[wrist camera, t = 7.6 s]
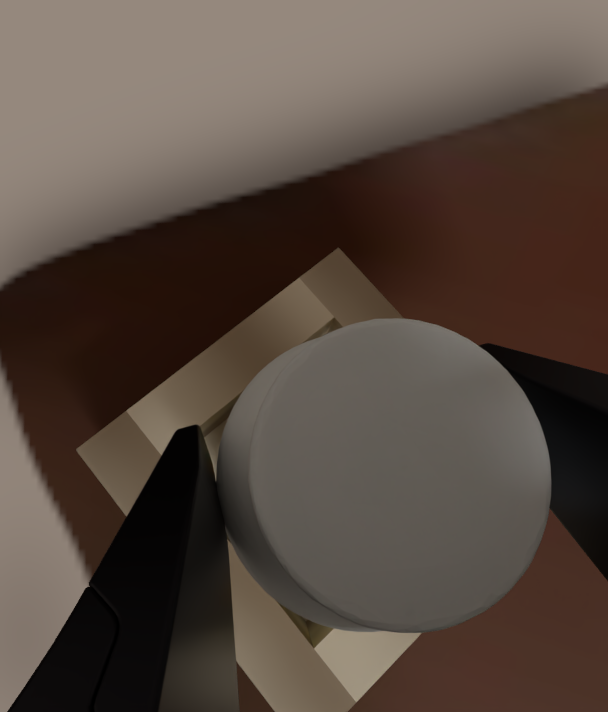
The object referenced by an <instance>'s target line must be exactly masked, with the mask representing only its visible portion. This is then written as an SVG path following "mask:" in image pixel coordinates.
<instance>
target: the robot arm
mask: <svg viewBox="0 0 608 712" xmlns="http://www.w3.org/2000/svg"><path fill="white" fill-rule="evenodd" d="M479 347H481V348H482V349H484V350H485V351H487V352H488V353H489V354H490V355H491V356H492V357H494V358H495V359H496V360H497V361H498V362H499V363H500V364H501V365H502V366H503V367H504V368H505V369H506V370H507V371H508V372H509V374H510V375H511V376H512V377H513V379H514V380H515V381H516V382H517V383H518V385H519V386H520V387H521V389H522V390H523V392H524V393H525V395H526V397H527V398H528V400H529V402H530V404H531V405H532V407H533V409H534V412H535V414H536V416H537V418H538V420H539V422H540V425H541V428H542V431H543V434H544V437H545V441H546V444H547V448H548V453H549V458H550V467H551V500H550V507H549V508H550V509H551V510H552V512H553V513H554V514H555V515H556V517H557V518H558V519H559V520H560V522H561V523H562V524H563V525H564V527H565V528H566V529H567V530H568V532H569V533H570V534H571V535H572V537H573V538H574V539H575V540H576V542H577V543H578V544H579V545H580V547H581V548H582V549H583V550H584V552H585V553H586V554H587V556H588V557H589V558H590V559H591V561H592V562H593V563H594V564H595V566H596V567H597V568H598V569H599V571H600V572H601V573H602V574H603V576H604V577H605V578H606V579H607V581H608V375H607V374H604V373H600V372H596V371H592V370H589V369H585V368H581V367H577V366H573V365H570V364H566V363H562V362H558V361H554V360H551V359H547V358H543V357H539V356H536V355H532V354H528V353H524V352H520V351H517V350H513V349H509V348H505V347H502V346H498V345H494V344H490V343H486V344H482V345H479ZM89 586H90V587H87V588H86V589H85V590H84V592H83V594H82V595H81V597H80V599H79V601H78V603H77V604H76V606H75V608H74V610H73V611H72V613H71V615H70V616H69V618H68V620H67V621H66V623H65V625H64V626H63V628H62V630H61V631H60V633H59V635H58V636H57V638H56V639H55V641H54V643H53V644H52V646H51V648H50V649H49V651H48V652H47V654H46V655H45V657H44V658H43V660H42V661H41V663H40V664H39V666H38V667H37V669H36V670H35V672H34V673H33V675H32V676H31V678H30V679H29V681H28V682H27V684H26V685H25V687H24V688H23V690H22V691H21V693H20V694H19V696H18V697H17V698H16V700H15V702H14V703H13V704H12V706H11V707H10V709H9V710H8V711H7V712H239V697H238V682H237V667H236V653H235V638H234V623H233V608H232V593H231V578H230V563H229V550H228V541H227V535H226V529H225V523H224V519H223V515H222V511H221V507H220V502H219V497H218V492H217V485H216V478H215V473H214V468H213V464H212V460H211V457H210V454H209V451H208V448H207V445H206V442H205V439H204V436H203V433H202V430H201V428H200V426H199V425H197V424H195V425H191V426H187V427H184V428H180V429H177V430H176V431H175V433H174V434H173V436H172V438H171V440H170V441H169V443H168V445H167V447H166V448H165V450H164V452H163V454H162V455H161V457H160V459H159V461H158V462H157V464H156V466H155V468H154V469H153V471H152V473H151V475H150V476H149V478H148V480H147V482H146V483H145V485H144V487H143V489H142V491H141V492H140V494H139V496H138V498H137V499H136V501H135V503H134V505H133V506H132V508H131V510H130V512H129V513H128V515H127V517H126V519H125V520H124V522H123V524H122V526H121V527H120V529H119V531H118V533H117V534H116V536H115V538H114V540H113V541H112V543H111V545H110V547H109V548H108V550H107V552H106V554H105V555H104V557H103V559H102V561H101V563H100V564H99V566H98V568H97V570H96V571H95V573H94V575H93V577H92V578H91V580H90V582H89Z"/></svg>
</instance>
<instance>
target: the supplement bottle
mask: <svg viewBox="0 0 608 712" xmlns="http://www.w3.org/2000/svg"><path fill="white" fill-rule="evenodd" d="M216 485H217V492H218V497H219V502H220V507H221V511H222V515H223V519H224V523H225V529H226V533H227V535H228V537H229V540H230V542H231V544H232V546H233V548H234V550H235V552H236V554H237V556H238V558H239V559H240V561H241V562H242V564H243V565H244V567H245V568H246V570H247V571H248V572H249V574H250V575H251V576H252V577H253V579H254V580H255V581H256V582H257V583H258V584H259V585H260V586H261V587H262V588H263V590H264V591H265V592H266V593H268V594H269V595H270V596H271V597H272V598H274V599H275V600H276V601H277V602H279V603H280V604H281V605H283V606H284V607H286V608H287V609H289V610H291V611H292V612H294V613H296V614H297V615H300V616H302V617H304V618H306V619H308V620H310V621H312V622H315V623H317V624H320V625H323V626H326V627H330V628H334V629H339V630H344V631H353V632H378V631H388V632H397V633H423V632H431V631H437V630H442V629H446V628H449V627H452V626H455V625H458V624H461V623H463V622H465V621H467V620H468V619H470V618H472V617H474V616H476V615H479V614H481V613H483V612H484V611H486V610H487V609H489V608H490V607H492V606H493V605H494V604H496V603H497V602H498V601H499V600H500V599H501V598H503V597H504V596H505V595H506V594H507V593H508V592H509V591H510V590H511V589H512V587H513V586H514V585H515V584H516V583H517V581H518V580H519V579H520V578H521V577H522V575H523V574H524V573H525V571H526V570H527V568H528V567H529V565H530V564H531V562H532V560H533V557H534V555H535V553H536V551H537V549H538V547H539V544H540V542H541V539H542V536H543V533H544V530H545V526H546V523H547V519H548V515H549V507H550V500H551V467H550V458H549V453H548V448H547V444H546V441H545V437H544V434H543V431H542V428H541V425H540V422H539V420H538V418H537V416H536V414H535V412H534V409H533V407H532V405H531V404H530V402H529V400H528V398H527V397H526V395H525V393H524V392H523V390H522V389H521V387H520V386H519V385H518V383H517V382H516V381H515V380H514V379H513V377H512V376H511V375H510V374H509V372H508V371H507V370H506V369H505V368H504V367H503V366H502V365H501V364H500V363H499V362H498V361H497V360H496V359H495V358H494V357H492V356H491V355H490V354H489V353H488V352H487V351H485V350H484V349H482V348H481V347H479V346H478V345H476V344H475V343H473V342H472V341H470V340H469V339H467V338H465V337H463V336H461V335H459V334H457V333H456V332H453V331H451V330H448V329H446V328H443V327H441V326H438V325H435V324H430V323H426V322H422V321H418V320H411V319H401V318H393V319H373V320H368V321H364V322H359V323H354V324H351V325H347V326H345V327H342V328H340V329H337V330H335V331H332V332H330V333H328V334H325V335H324V336H322V337H319V338H315V339H313V340H310V341H307V342H304V343H302V344H300V345H298V346H295V347H293V348H291V349H290V350H288V351H286V352H284V353H283V354H281V355H280V356H278V357H277V358H275V359H274V360H273V361H271V362H270V363H269V364H268V365H267V366H265V367H264V368H263V369H262V370H261V371H260V372H259V373H258V374H257V375H256V376H255V377H254V378H253V380H252V381H251V382H250V383H249V384H248V385H247V387H246V388H245V389H244V391H243V392H242V393H241V395H240V397H239V398H238V400H237V402H236V403H235V405H234V407H233V409H232V411H231V413H230V415H229V418H228V420H227V423H226V425H225V428H224V431H223V434H222V438H221V441H220V446H219V451H218V458H217V469H216Z"/></svg>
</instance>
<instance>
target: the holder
mask: <svg viewBox="0 0 608 712" xmlns="http://www.w3.org/2000/svg"><path fill="white" fill-rule="evenodd" d="M393 318H401V319H404V318H403V317H402V316H401V315H400V314H399V313H398V312H397V310H396V309H395V308H394V307H393V306H392V305H391V304H390V303H389V302H388V301H387V300H386V298H385V297H384V296H383V295H382V294H381V293H380V292H379V291H378V290H377V289H376V288H375V286H374V285H373V284H372V283H371V282H370V281H369V280H368V279H367V278H366V277H365V276H364V275H363V273H362V272H361V271H360V270H359V269H358V268H357V267H356V266H355V265H354V264H353V263H352V261H351V260H350V259H349V258H348V257H347V256H346V255H345V254H344V253H343V252H342V251H341V249H340V248H339V247H338V248H337V249H336V250H335V251H333V252H332V253H331V254H329V255H328V256H327V257H325V258H324V259H323V260H322V261H320V262H319V263H318V264H316V265H315V266H314V267H312V268H311V269H310V270H309V271H307V272H306V273H305V274H303V275H302V276H301V277H299V278H298V279H297V280H296V281H294V282H293V283H292V284H290V285H289V286H288V287H286V288H285V289H284V290H283V291H281V292H280V293H279V294H277V295H276V296H275V297H273V298H272V299H271V300H270V301H268V302H267V303H266V304H264V305H263V306H262V307H260V308H259V309H258V310H257V311H255V312H254V313H253V314H251V315H250V316H249V317H247V318H246V319H245V320H244V321H242V322H241V323H240V324H238V325H237V326H236V327H234V328H233V329H232V330H231V331H229V332H228V333H227V334H225V335H224V336H223V337H221V338H220V339H219V340H218V341H216V342H215V343H214V344H212V345H211V346H210V347H208V348H207V349H206V350H205V351H203V352H202V353H201V354H199V355H198V356H197V357H195V358H194V359H193V360H192V361H190V362H189V363H188V364H186V365H185V366H184V367H182V368H181V369H180V370H179V371H177V372H176V373H175V374H173V375H172V376H171V377H169V378H168V379H167V380H166V381H164V382H163V383H162V384H160V385H159V386H158V387H156V388H155V389H154V390H153V391H151V392H150V393H149V394H147V395H146V396H145V397H143V398H142V399H141V400H140V401H138V402H137V403H136V404H134V405H133V406H132V407H130V408H129V409H128V410H127V411H125V412H124V413H123V414H121V415H120V416H119V417H117V418H116V419H115V420H114V421H112V422H111V423H110V424H108V425H107V426H106V427H104V428H103V429H102V430H101V431H99V432H98V433H97V434H95V435H94V436H93V437H92V438H90V439H89V440H88V441H86V442H85V443H84V444H82V445H81V446H80V447H79V448H77V449H76V451H77V452H78V453H79V455H80V456H81V457H82V459H83V460H84V461H85V463H86V464H87V465H88V467H89V468H90V469H91V471H92V472H93V473H94V474H95V476H96V477H97V478H98V480H99V481H100V482H101V484H102V485H103V486H104V488H105V489H106V490H107V492H108V493H109V494H110V496H111V497H112V498H113V499H114V501H115V502H116V503H117V505H118V506H119V507H120V509H121V510H122V511H123V513H124V514H125V515H126V517H127V515H128V513H129V512H130V510H131V508H132V506H133V505H134V503H135V501H136V499H137V498H138V496H139V494H140V492H141V491H142V489H143V487H144V485H145V483H146V482H147V480H148V478H149V476H150V475H151V473H152V471H153V469H154V468H155V466H156V464H157V462H158V461H159V459H160V457H161V455H162V454H163V452H164V450H165V448H166V447H167V445H168V443H169V441H170V440H171V438H172V436H173V434H174V433H175V431H176V430H177V429H180V428H184V427H187V426H191V425H195V424H197V425H199V426H200V428H201V430H202V433H203V436H204V439H205V442H206V445H207V448H208V451H209V454H210V457H211V460H212V464H213V468H214V473H215V478H216V469H217V458H218V451H219V446H220V441H221V438H222V434H223V431H224V428H225V425H226V423H227V420H228V418H229V415H230V413H231V411H232V409H233V407H234V405H235V403H236V402H237V400H238V398H239V397H240V395H241V393H242V392H243V391H244V389H245V388H246V387H247V385H248V384H249V383H250V382H251V381H252V380H253V378H254V377H255V376H256V375H257V374H258V373H259V372H260V371H261V370H262V369H263V368H264V367H265V366H267V365H268V364H269V363H270V362H271V361H273V360H274V359H275V358H277V357H278V356H280V355H281V354H283V353H284V352H286V351H288V350H290V349H291V348H293V347H295V346H298V345H300V344H302V343H304V342H307V341H310V340H313V339H315V338H319V337H322V336H324V335H325V334H328V333H330V332H332V331H335V330H337V329H340V328H342V327H345V326H347V325H351V324H354V323H359V322H364V321H368V320H373V319H393ZM226 535H227V533H226ZM227 541H228V550H229V563H230V578H231V593H232V608H233V623H234V638H235V653H236V661H237V662H238V664H239V665H240V666H241V668H242V669H243V670H244V672H245V673H246V674H247V676H248V677H249V678H250V680H251V681H252V682H253V684H254V685H255V686H256V687H257V689H258V690H259V691H260V693H261V694H262V695H263V697H264V698H265V699H266V701H267V702H268V703H269V705H270V706H271V707H272V708H273V710H274V711H275V712H348V711H349V710H350V708H351V707H352V706H353V705H354V704H355V703H356V702H357V701H358V700H359V699H360V698H361V697H362V696H363V695H364V694H365V693H366V692H367V690H368V689H369V688H370V687H371V686H372V685H373V684H374V683H375V682H376V681H377V680H378V679H379V678H380V677H381V676H382V675H383V674H384V672H385V671H386V670H387V669H388V668H389V667H390V666H391V665H392V664H393V663H394V662H395V661H396V660H397V659H398V658H399V657H400V656H401V654H402V653H403V652H404V651H405V650H406V649H407V648H408V647H409V646H410V645H411V644H412V643H413V642H414V641H415V640H416V639H417V638H418V636H419V635H420V634H421V633H397V632H388V631H378V632H353V631H344V630H339V629H334V628H330V627H326V626H323V625H320V624H317V623H315V622H312V621H310V620H308V619H306V618H304V617H302V616H300V615H297V614H296V613H294V612H292V611H291V610H289V609H287V608H286V607H284V606H283V605H281V604H280V603H279V602H277V601H276V600H275V599H274V598H272V597H271V596H270V595H269V594H268V593H266V592H265V591H264V590H263V588H262V587H261V586H260V585H259V584H258V583H257V582H256V581H255V580H254V579H253V577H252V576H251V575H250V574H249V572H248V571H247V570H246V568H245V567H244V565H243V564H242V562H241V561H240V559H239V558H238V556H237V554H236V552H235V550H234V548H233V546H232V544H231V542H230V540H229V537H228V535H227Z"/></svg>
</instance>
